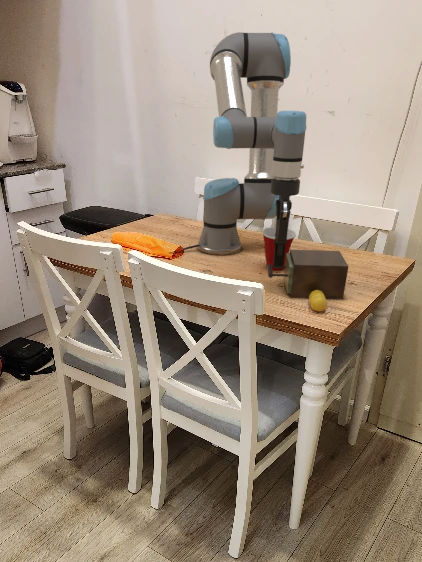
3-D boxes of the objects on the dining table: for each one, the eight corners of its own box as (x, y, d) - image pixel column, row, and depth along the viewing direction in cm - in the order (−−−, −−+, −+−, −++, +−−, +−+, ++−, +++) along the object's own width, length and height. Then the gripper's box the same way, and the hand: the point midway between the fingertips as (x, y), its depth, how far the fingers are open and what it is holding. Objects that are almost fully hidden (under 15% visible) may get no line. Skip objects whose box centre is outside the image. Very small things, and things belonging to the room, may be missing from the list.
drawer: (267, 293, 137) (269, 266, 133) (265, 277, 148) (267, 252, 143) (334, 295, 136) (339, 268, 132) (328, 279, 147) (331, 254, 143)
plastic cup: (269, 275, 151) (272, 237, 145) (253, 264, 160) (255, 228, 153) (298, 271, 155) (303, 234, 149) (281, 261, 164) (285, 225, 157)
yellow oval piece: (310, 313, 128) (312, 299, 125) (307, 301, 134) (309, 287, 132) (326, 314, 127) (329, 299, 125) (322, 302, 134) (324, 288, 132)
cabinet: (291, 297, 137) (294, 264, 132) (286, 280, 148) (290, 249, 143) (343, 299, 136) (348, 266, 131) (334, 281, 148) (339, 250, 143)
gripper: (303, 182, 121) (293, 273, 133) (297, 174, 132) (289, 258, 144) (273, 182, 121) (266, 272, 133) (270, 173, 132) (264, 257, 145)
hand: (278, 265), depth 139 cm, fingers closed
